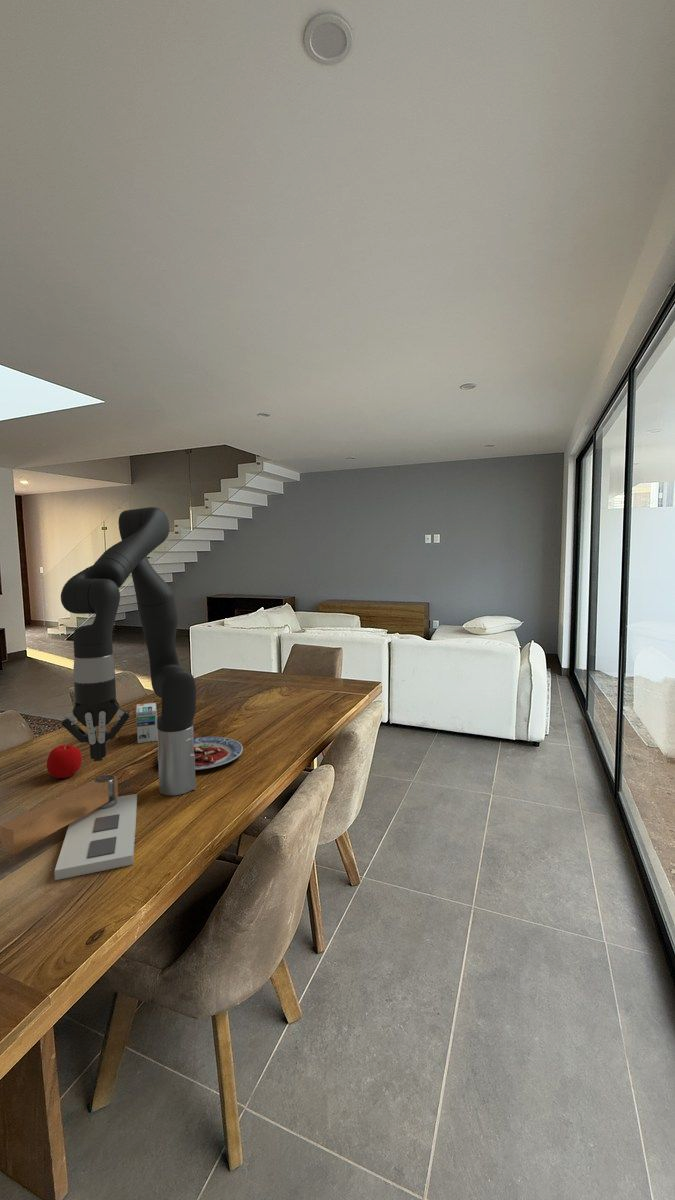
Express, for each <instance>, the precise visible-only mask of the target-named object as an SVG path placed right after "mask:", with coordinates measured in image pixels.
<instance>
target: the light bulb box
mask: <svg viewBox="0 0 675 1200" xmlns="http://www.w3.org/2000/svg"><path fill="white" fill-rule="evenodd" d="M135 706H136V708H135V709H136V710H135V714H136V729H137V730H136V732H137V734H136V735H137V736H136V737H137V744H141V743H143V744H144V743H150V742H151V741H152V742H158V734H157V719H158V711H157V710H158V709H157V703H156V702H151V703H141V704H140V703H139V704H138V703H137V704H136V705H135Z"/></svg>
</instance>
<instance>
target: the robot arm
mask: <svg viewBox="0 0 675 1200" xmlns="http://www.w3.org/2000/svg"><path fill="white" fill-rule="evenodd" d="M169 522H170V521H169V519H168V516H167V514H166V512H165V511H164V510H163V509H161V508H159V507H156V506H155V507H154V506H151V507H150V506H149V507H142V508H134V509H133V508H132V509H127V510H124V511H122V512H121V513H120V514H119V516H118V531H119V535H120V539H121V541H118V542H116V543H115V544H113V545H112V546H110V547H109V548H108V549H106V550H104V552H103V553H102V554H101V555H100V557H99V558H98V559H96V561H95V562H94V563H93V565H90V566H88V567H86V568H85V569H83V570H81V571H79V572H77V573H76V574H75V575H73V576H72V577H70V578H69V579H68V580H66V583H64V584H63V585H64V586H63V587H62V589H61V593H60V602H61V605H62V606H63V608H64V609H65V610H66V611H67V612H69V613H72V614H76V615H90V614H91V615H95V618H94V619H93V621H92V624H87V625H82V626H78V627H77V628H75V629H74V631H73V636H72V637H73V640H72V641H73V668H72V669H73V672H72V673H73V674H72V679H73V689H74V691H73V692H74V707H73V709H72V713H71V714H69V715H68V716H65V717H64V718H63V719H62V721H61V726H62V727H64V729H66V730H67V731H68V733H70V734H71V735H72V736H73V737H74V738H75V739H76V740H77V741H78V742H79V743H81V744H83V743H87V744H89V752H90V753H89V756H90V758H91V760H94V762H103V758H106V755H107V741H109V740H113V739H114V738H115V737H116V736H117V734H118V733H119V732H120V730H121V729H122V728H123V727H124V725H125V724H126V722H127V721H128V719H129V718H130V711H129V710H124V709H122V708H120V703H119V702H118V701H117V688H116V687H117V685H116V669H115V667H116V666H115V665H116V664H115V659H114V652H113V651H114V650H113V648H114V647H113V631H114V626H115V622H116V617H117V613H118V609H119V606H120V602H121V592H120V589H119V588H121V587H122V586H123V585H124V583H125V582H126V581H127V579H128V578H129V576H131V578H132V583H133V588H134V592H135V597H136V604H137V610H138V613H139V618H140V622H141V626H142V632H143V636H144V640H145V644H146V648H147V653H148V660H149V661H148V662H149V671H150V682H151V683H150V684H151V688H152V690H153V692H154V694H155V695H156V696H157V697H158V698H160V699H161V714H160V715H159V716H157V734H158V741H157V762H158V787H159V788H158V790H159V793H160V794H162V795H165V796H179V795H184V794H187V793H189V792H191V791H194V790H196V788H197V786H196V784H197V783H196V770H195V755H194V738H195V737H194V718H195V715H196V709H197V704H196V703H197V685H196V680H195V677H194V676H193V674H192V673H191V672H189V671H188V670H186V669H184V668H182V667H181V665H180V663H179V658H178V655H177V650H176V637H177V630H178V619H179V618H178V611H177V606H176V605H177V604H176V600H175V595H174V592H173V590H172V589H171V587H170V586H169V585H168V584H167V583H168V582H166V581H165V580H164V579H163V578H162V577H161V575H160V574H159V573H158V572H157V571H156V570H155V569H154V568H153V566H152V565H151V563H150V561H149V559H148V556H149V555H150V554H151V553H152V552H153V551H154V550H156V549H157V548H158V547H159V546H160V545H162V543H164V542H165V541H166V540H167V539H168V537H169V534H170V523H169ZM116 714H117V715H116ZM115 716H116V720H117V721H116V722H115V723H114V724H113V726H112V727H111V729H110V730H109V731H107V725H109V724H110V723H111V721H112V720H113V718H114V717H115ZM77 720H78V721H79V722H80V723H81V724H82V725H83V726H84V727H86V731H87V733H86V732H85V731H84V730H83V729H82V727H80V726H79V725H78V724H77ZM97 727H98V735H97Z"/></svg>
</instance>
